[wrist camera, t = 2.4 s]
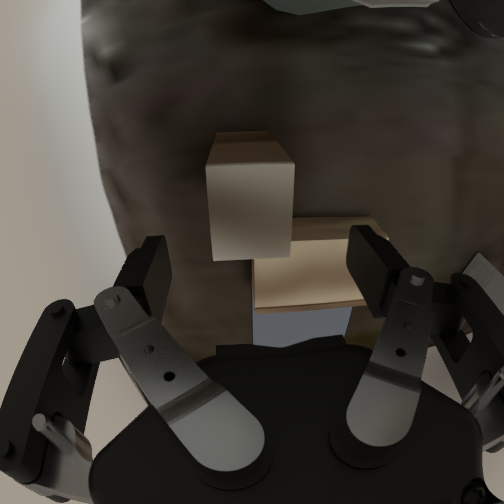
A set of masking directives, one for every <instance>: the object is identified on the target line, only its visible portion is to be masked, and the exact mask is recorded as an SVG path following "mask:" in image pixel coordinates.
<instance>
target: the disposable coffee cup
mask: <svg viewBox="0 0 504 504" xmlns="http://www.w3.org/2000/svg"><path fill="white" fill-rule="evenodd" d="M263 1H264V2H266V3H267V4H268V5H270V6H271V7H272V8H274V9H275V10H278V11H283V12H287V13H291V14H295V15H299V16H300V15H305V14H311V13H316V12H322V11H328V10H333V9H339V8H345V7H352V6H359V5H365V6H367V7H370V8H377V7H428V6H429V5H430V4H432V3H435V2H438V1H439V0H263Z"/></svg>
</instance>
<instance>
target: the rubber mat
mask: <svg viewBox="0 0 504 504" xmlns="http://www.w3.org/2000/svg"><path fill="white" fill-rule="evenodd" d="M351 310H352V307H344V308H333V309H322V310H311V311H298V312H285V313H269V314H255V308H254V299H253V289H252V311H253V344H254V345H262V346H271V347H286V346H290V345H293V344H296V343H299V342H302V341H305V340H308V339H311V338H317V337H325V336H333V335H341V334H343V337H344V335H345V332H346V328H347V325H348V321H349V317H350V314H351Z"/></svg>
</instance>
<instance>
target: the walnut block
mask: <svg viewBox="0 0 504 504" xmlns="http://www.w3.org/2000/svg"><path fill="white" fill-rule="evenodd" d="M294 169H295V164H294V163H293V161H292V160H291V159H290V157H289V156H288V155H287V153H286V152H285V151H284V149H283V148H282V147H281V145H280V144H279V143H278V142H277V140H276V139H275V138H274V137H273V135H272V134H271V133H270V131H241V132H218V133H216V136H215V139H214V142H213V145H212V148H211V151H210V154H209V157H208V160H207V164H206V181H207V195H208V207H209V219H210V230H211V241H212V252H213V261H221V260H243V259H265V258H287V257H290V250H291V233H292V214H293V194H294Z"/></svg>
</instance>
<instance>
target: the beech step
mask: <svg viewBox="0 0 504 504" xmlns="http://www.w3.org/2000/svg"><path fill="white" fill-rule="evenodd" d="M352 225H369V226H370V227H371V228H372V229H373V230H374V231H375V233H376V234H377V235H380V236H382V237H384V238H385V239H387V240H389V237H388V236H387V235H386V234H385V232H384V231H383V230H382V229H381V228H380V227H379V226H378V224H377V223H376V222H375V221H374V220H373V219H372V218H371V216H360V217H302V218H292V233H291V250H290V257H287V258H265V259H252V289H253V299H254V308H255V314H269V313H285V312H298V311H311V310H322V309H333V308H344V307H353V306H362V305H367V304H366V302H365V300H364V298H363V296H362V294H361V292H360V291H359V289H358V287H357V285H356V283H355V282H354V280H353V278H352V276H351V274H350V273H349V271H348V269H347V265H346V253H347V246H348V239H349V232H350V228H351V226H352Z"/></svg>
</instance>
